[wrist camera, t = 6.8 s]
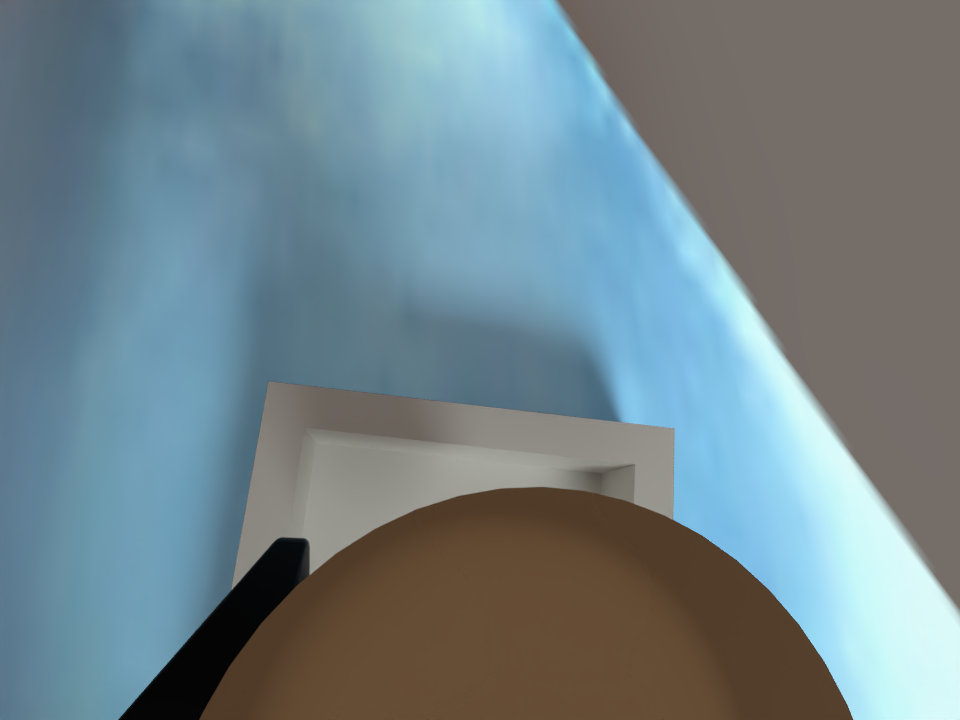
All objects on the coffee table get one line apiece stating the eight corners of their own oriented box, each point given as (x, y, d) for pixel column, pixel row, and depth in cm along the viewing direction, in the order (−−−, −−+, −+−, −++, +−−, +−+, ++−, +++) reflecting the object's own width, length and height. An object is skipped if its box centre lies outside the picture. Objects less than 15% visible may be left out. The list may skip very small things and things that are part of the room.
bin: (615, 827, 21) (667, 894, 17) (220, 808, 20) (180, 874, 16) (628, 445, 24) (674, 428, 20) (288, 406, 23) (268, 381, 19)
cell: (433, 754, 15) (724, 2017, 2) (294, 634, 15) (-182, 1132, 2) (543, 600, 16) (1147, 832, 3) (411, 491, 16) (508, 317, 3)
